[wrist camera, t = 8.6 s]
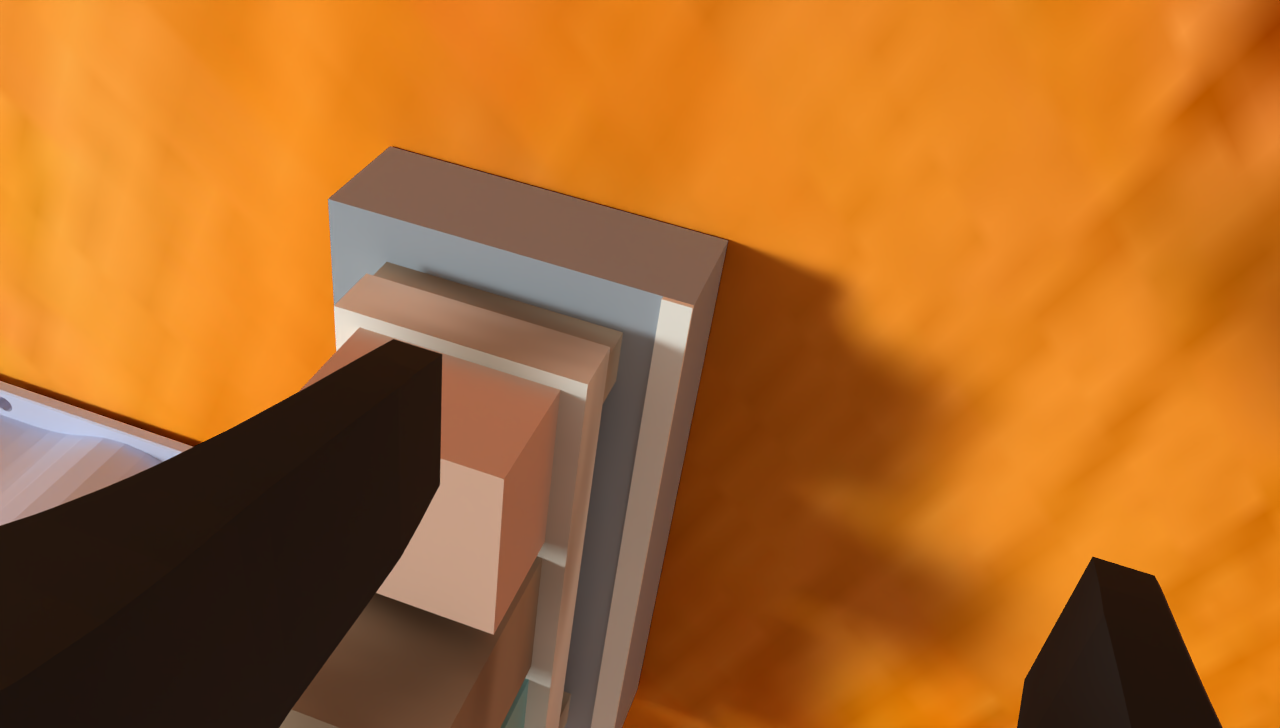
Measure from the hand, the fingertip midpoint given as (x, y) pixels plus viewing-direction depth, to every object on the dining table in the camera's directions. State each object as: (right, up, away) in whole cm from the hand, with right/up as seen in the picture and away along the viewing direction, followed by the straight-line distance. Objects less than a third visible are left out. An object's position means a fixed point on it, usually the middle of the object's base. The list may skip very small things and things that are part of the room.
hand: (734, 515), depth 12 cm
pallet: (-4, -2, +14) cm, 14 cm away
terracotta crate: (-5, 0, +9) cm, 10 cm away
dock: (-4, -1, +15) cm, 16 cm away
